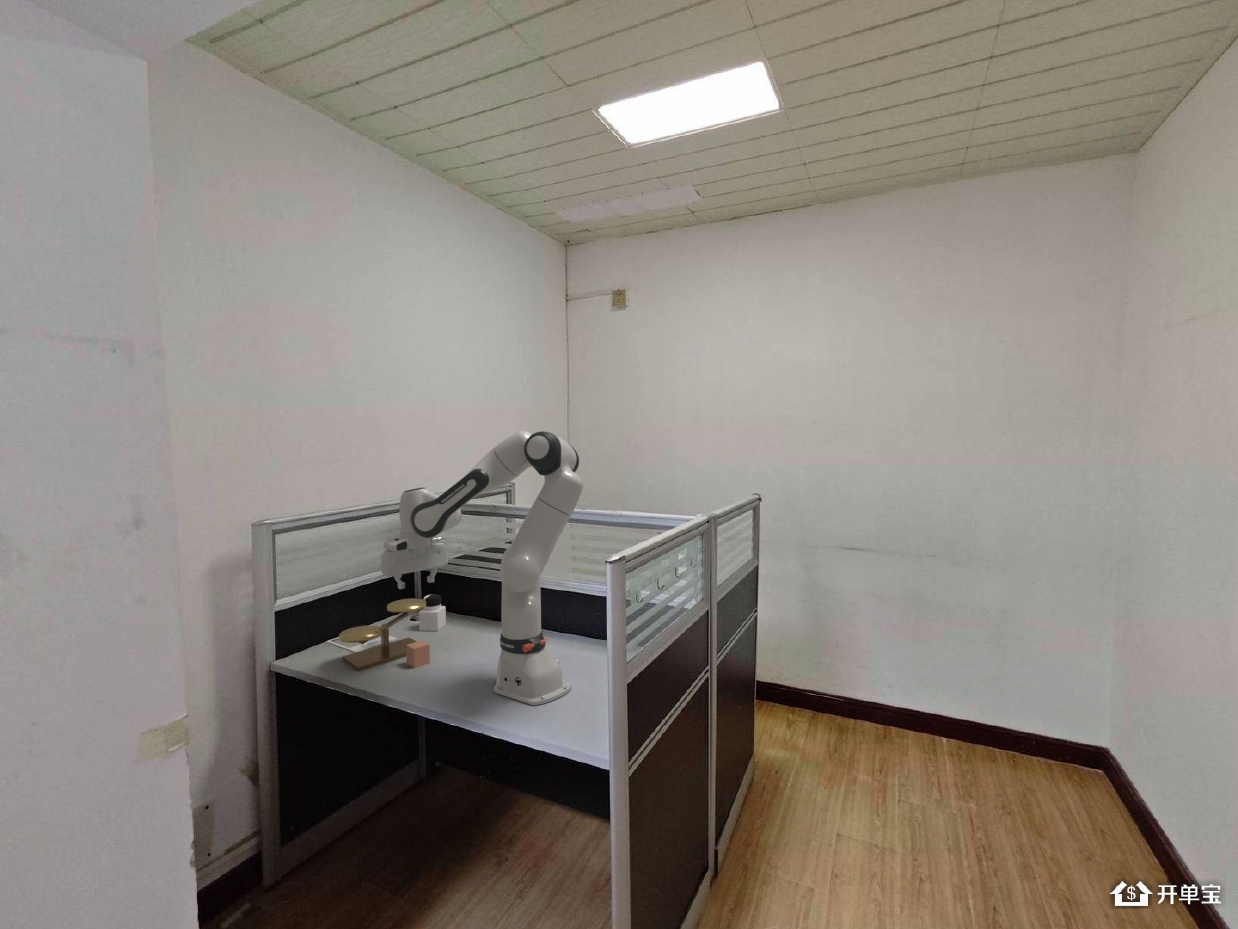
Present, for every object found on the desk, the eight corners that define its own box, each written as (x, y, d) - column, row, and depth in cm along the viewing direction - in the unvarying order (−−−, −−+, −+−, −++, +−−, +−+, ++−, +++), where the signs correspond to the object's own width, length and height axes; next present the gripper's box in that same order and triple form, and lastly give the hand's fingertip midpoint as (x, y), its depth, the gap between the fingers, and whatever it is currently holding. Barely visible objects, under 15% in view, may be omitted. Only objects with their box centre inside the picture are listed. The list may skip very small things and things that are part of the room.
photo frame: (357, 651, 176) (326, 640, 186) (357, 655, 176) (326, 643, 186) (397, 637, 189) (366, 627, 198) (397, 640, 189) (366, 630, 198)
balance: (433, 647, 181) (432, 603, 180) (349, 674, 161) (347, 624, 160) (416, 638, 189) (415, 596, 188) (333, 662, 169) (332, 615, 169)
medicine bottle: (446, 624, 203) (445, 593, 203) (438, 631, 196) (437, 598, 196) (427, 624, 204) (427, 592, 203) (419, 630, 197) (418, 598, 196)
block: (429, 663, 169) (429, 644, 168) (414, 668, 165) (414, 649, 165) (421, 659, 172) (421, 640, 172) (406, 664, 168) (406, 644, 168)
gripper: (441, 534, 176) (442, 577, 177) (378, 544, 161) (379, 590, 162) (451, 537, 172) (452, 580, 173) (387, 546, 157) (388, 594, 158)
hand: (416, 585), depth 167 cm, fingers open, 8 cm apart
